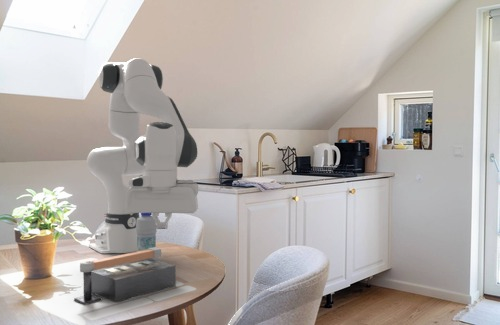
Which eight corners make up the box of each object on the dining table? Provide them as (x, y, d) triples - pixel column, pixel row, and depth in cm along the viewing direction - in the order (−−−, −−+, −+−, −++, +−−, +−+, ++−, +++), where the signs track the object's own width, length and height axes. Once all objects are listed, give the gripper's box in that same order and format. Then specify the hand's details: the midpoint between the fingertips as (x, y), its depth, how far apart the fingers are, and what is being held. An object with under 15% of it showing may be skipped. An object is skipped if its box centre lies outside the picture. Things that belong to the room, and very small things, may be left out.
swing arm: (84, 273, 134) (84, 264, 134) (77, 271, 136) (77, 262, 136) (161, 256, 152) (161, 248, 152) (154, 254, 154) (154, 247, 154)
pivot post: (74, 300, 137) (73, 271, 136) (91, 296, 140) (90, 268, 140) (84, 304, 133) (83, 275, 133) (101, 300, 137) (100, 271, 136)
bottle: (149, 265, 172) (149, 206, 171) (161, 269, 167) (160, 208, 166) (132, 269, 167) (131, 208, 166) (143, 273, 163) (142, 210, 161)
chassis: (87, 291, 144) (87, 268, 144) (146, 276, 159) (146, 256, 159) (115, 302, 135) (115, 278, 134) (175, 285, 149) (175, 264, 149)
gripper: (200, 179, 148) (200, 227, 148) (130, 179, 149) (131, 226, 150) (195, 180, 141) (196, 230, 142) (123, 180, 143) (123, 230, 144)
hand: (162, 228), depth 146 cm, fingers closed
